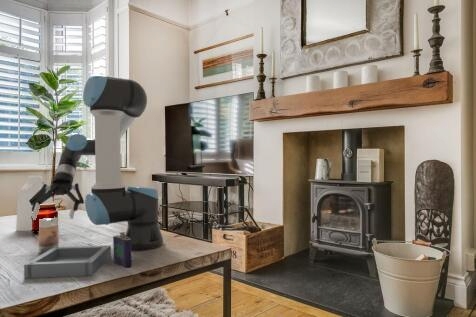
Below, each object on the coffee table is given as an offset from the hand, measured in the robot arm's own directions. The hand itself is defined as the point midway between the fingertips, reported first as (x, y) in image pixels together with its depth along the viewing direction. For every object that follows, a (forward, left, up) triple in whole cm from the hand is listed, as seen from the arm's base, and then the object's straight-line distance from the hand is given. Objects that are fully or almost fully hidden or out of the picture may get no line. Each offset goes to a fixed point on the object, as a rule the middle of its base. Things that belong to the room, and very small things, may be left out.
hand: (52, 217), depth 132 cm
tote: (-17, +26, -11) cm, 34 cm away
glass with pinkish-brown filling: (-1, +6, -11) cm, 13 cm away
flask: (-33, +26, -12) cm, 44 cm away
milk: (+25, -38, -12) cm, 46 cm away
